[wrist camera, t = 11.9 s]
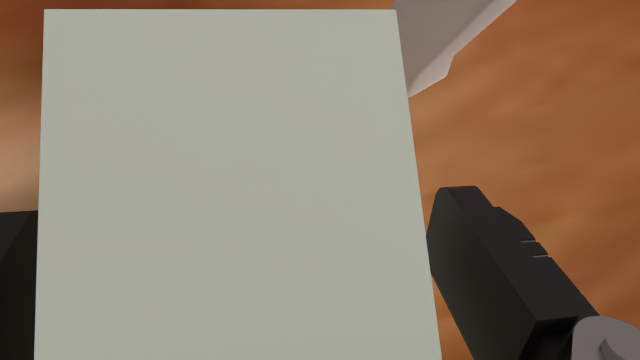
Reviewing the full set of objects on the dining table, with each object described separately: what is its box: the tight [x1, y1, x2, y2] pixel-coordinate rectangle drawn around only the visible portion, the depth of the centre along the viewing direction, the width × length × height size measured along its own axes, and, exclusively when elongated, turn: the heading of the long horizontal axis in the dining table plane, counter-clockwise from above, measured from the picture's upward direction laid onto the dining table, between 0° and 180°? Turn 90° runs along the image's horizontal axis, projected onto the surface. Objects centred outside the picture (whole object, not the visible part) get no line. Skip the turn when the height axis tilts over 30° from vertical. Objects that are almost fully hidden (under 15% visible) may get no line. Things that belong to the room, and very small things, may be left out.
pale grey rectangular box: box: [34, 9, 442, 360], centre depth 11 cm, size 8×5×10 cm, turn 5°
